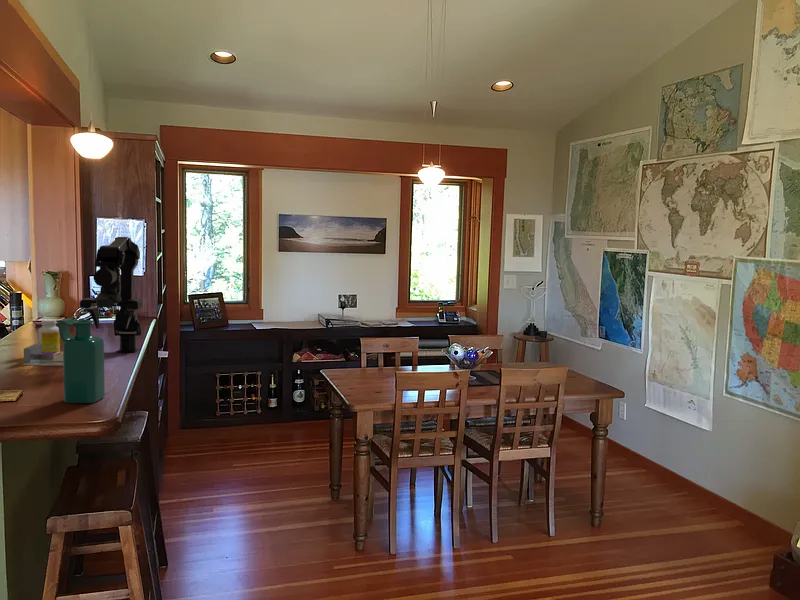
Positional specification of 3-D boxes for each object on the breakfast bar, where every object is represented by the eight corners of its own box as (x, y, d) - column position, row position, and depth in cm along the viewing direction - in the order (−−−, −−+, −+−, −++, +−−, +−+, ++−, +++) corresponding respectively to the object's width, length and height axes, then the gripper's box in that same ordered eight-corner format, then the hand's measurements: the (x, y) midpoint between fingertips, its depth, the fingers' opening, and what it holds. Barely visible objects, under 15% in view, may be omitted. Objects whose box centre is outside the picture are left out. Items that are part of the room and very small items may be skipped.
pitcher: (107, 396, 173) (106, 318, 171) (93, 404, 165) (92, 322, 162) (71, 395, 173) (70, 317, 170) (55, 403, 164) (54, 321, 162)
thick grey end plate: (59, 358, 215) (59, 349, 215) (99, 358, 217) (99, 349, 217) (50, 363, 208) (49, 353, 207) (91, 363, 209) (91, 354, 209)
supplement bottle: (63, 355, 224) (63, 320, 223) (44, 358, 219) (44, 322, 217) (54, 353, 228) (53, 318, 227) (35, 355, 222) (34, 320, 221)
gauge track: (36, 359, 216) (36, 343, 216) (79, 359, 218) (78, 344, 218) (23, 365, 206) (22, 348, 206) (68, 365, 208) (67, 349, 208)
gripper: (72, 285, 201) (73, 332, 203) (132, 286, 203) (133, 333, 205) (85, 281, 212) (86, 326, 214) (142, 283, 214) (142, 327, 216)
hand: (111, 328), depth 212 cm, fingers open, 9 cm apart
